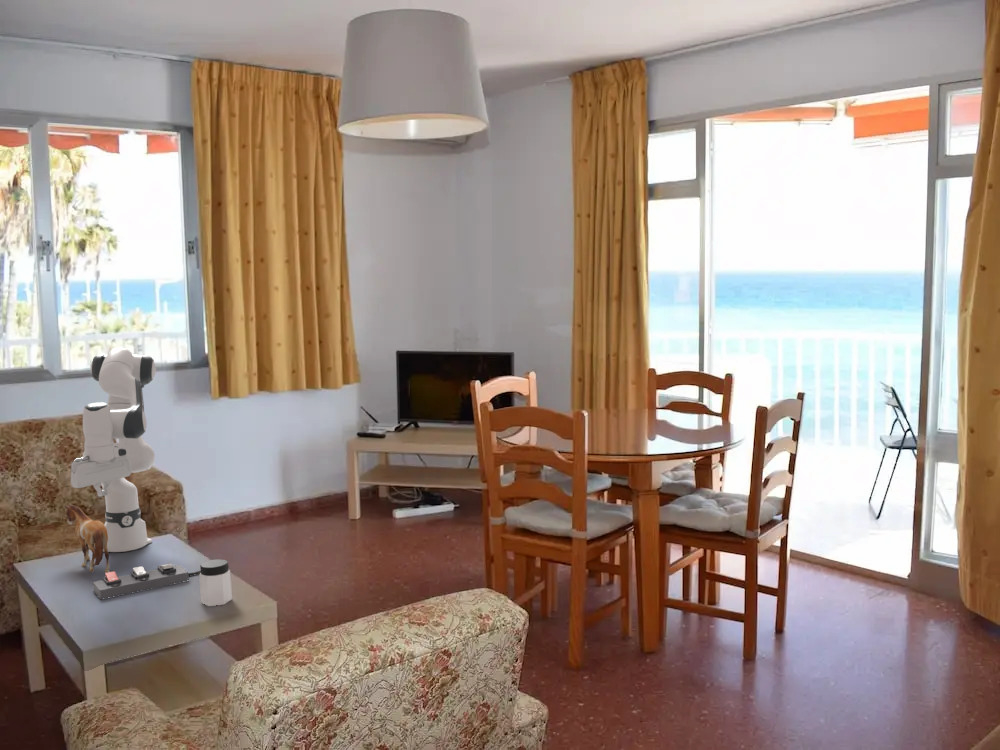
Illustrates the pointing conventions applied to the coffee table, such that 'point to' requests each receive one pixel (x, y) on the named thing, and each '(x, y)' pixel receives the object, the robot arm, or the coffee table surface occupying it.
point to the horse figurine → (90, 536)
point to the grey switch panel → (141, 581)
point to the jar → (215, 582)
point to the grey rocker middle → (139, 571)
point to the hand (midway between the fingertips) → (103, 495)
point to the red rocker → (111, 576)
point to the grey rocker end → (166, 566)
